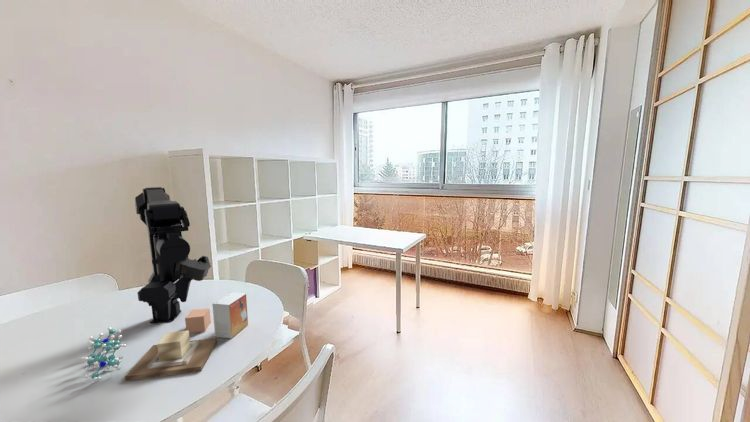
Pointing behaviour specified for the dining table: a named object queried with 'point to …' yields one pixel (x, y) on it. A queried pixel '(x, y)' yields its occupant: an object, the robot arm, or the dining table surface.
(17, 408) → the dining table surface
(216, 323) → the small box
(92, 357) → the molecule model
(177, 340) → the maple block
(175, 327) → the dining table surface
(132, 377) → the walnut board
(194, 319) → the terracotta block
